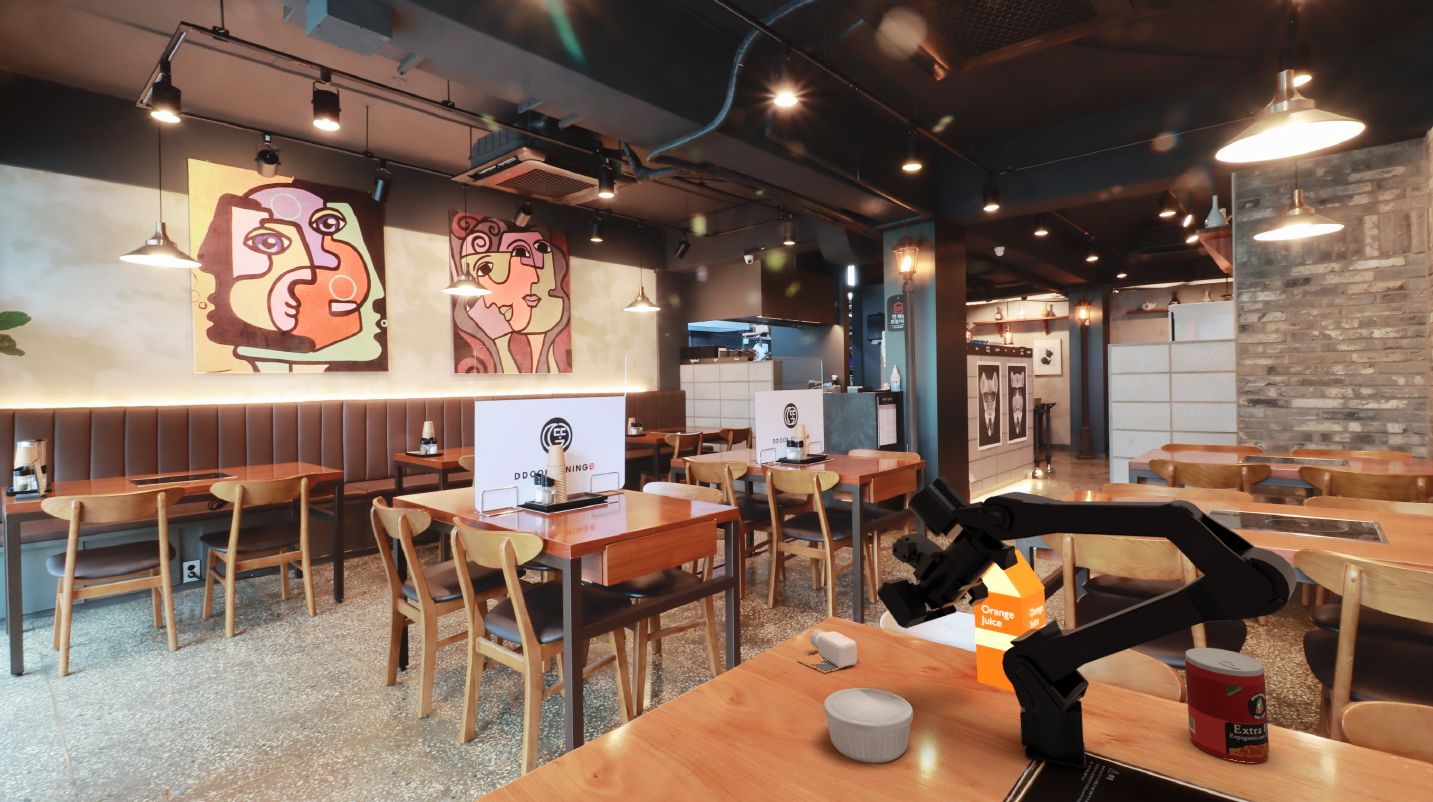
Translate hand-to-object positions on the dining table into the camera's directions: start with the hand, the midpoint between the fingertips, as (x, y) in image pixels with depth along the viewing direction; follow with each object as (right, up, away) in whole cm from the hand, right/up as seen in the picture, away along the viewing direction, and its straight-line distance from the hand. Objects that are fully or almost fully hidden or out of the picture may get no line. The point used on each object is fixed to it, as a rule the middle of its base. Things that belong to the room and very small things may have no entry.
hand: (904, 625), depth 97 cm
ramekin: (-9, -11, -14) cm, 20 cm away
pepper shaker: (-6, -9, +11) cm, 16 cm away
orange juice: (+19, -11, +5) cm, 22 cm away
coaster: (-9, -12, +15) cm, 21 cm away
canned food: (+35, -9, -18) cm, 40 cm away
